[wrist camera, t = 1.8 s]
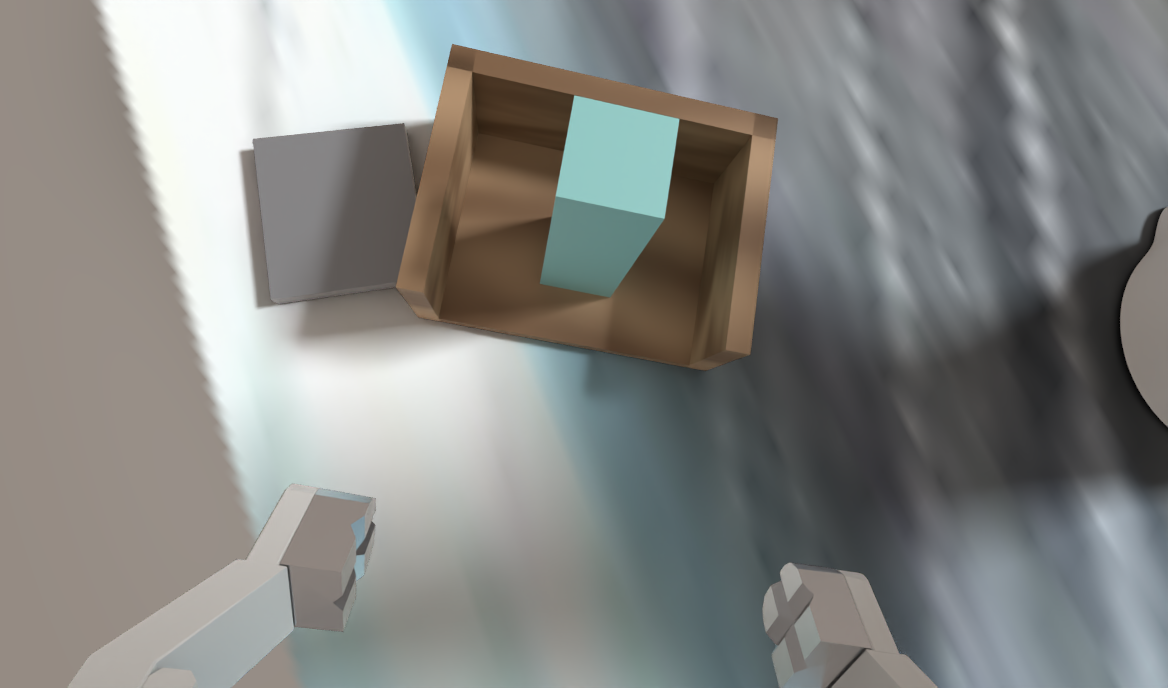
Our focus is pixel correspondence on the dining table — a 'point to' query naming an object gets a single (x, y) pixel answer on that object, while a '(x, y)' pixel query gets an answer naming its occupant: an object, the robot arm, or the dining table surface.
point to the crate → (525, 206)
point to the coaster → (334, 210)
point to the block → (607, 194)
